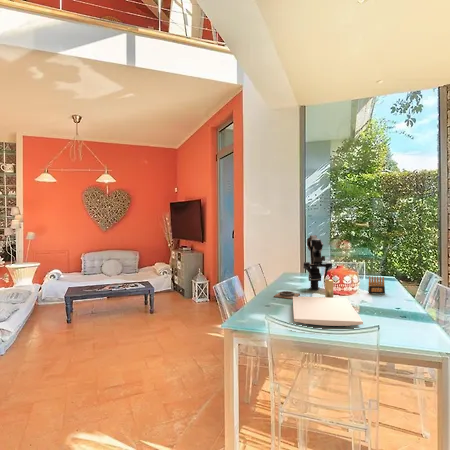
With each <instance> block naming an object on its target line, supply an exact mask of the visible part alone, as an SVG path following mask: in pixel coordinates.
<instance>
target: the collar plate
mask: <svg viewBox="0 0 450 450" xmlns="http://www.w3.org/2000/svg"><path fill="white" fill-rule="evenodd" d="M300 295H301V293H296V292H294V291H290V290H283V291H280V292H278V293H276V294H275V295H273V298H276V297H278V298H279V299H284V300H285V299H287V300H293V296H294V297H300Z"/></svg>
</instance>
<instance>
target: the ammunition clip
mask: <svg viewBox="0 0 450 450" xmlns="http://www.w3.org/2000/svg"><path fill="white" fill-rule="evenodd" d="M367 288H368V289H367V293H368V292H369V293H368V294H372V293H385V294H386V289H385V288H386V287H385V276H381V275H380V276H378V275H377V276H374V275H373V276H369V277H368V287H367Z"/></svg>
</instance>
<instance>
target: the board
mask: <svg viewBox="0 0 450 450" xmlns="http://www.w3.org/2000/svg"><path fill="white" fill-rule="evenodd" d="M292 308H293V310H292V312H293V321H294V322H296V323H302V324H304V325H305V324H307V325H315V326H328V327H329V326H333V327H335V326H338V327H343V326H345V327H348V326H349V327H350V326H360V325H364V321H363V320H362V318H361V316H360V315H359V313H358V312H357V311H356V309H355V308H354V307H353V305H352V303H350V301H349V299H347V297H333V298H327V297H325V296H324V297H323V296H322V297H321V296H298V297H294V296H293V299H292Z"/></svg>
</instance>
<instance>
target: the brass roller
mask: <svg viewBox="0 0 450 450" xmlns="http://www.w3.org/2000/svg"><path fill="white" fill-rule="evenodd" d="M324 284H325V285H324V289H325V291H324V293H325V294H324V297H327V298H334V279H325V280H324Z"/></svg>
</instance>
